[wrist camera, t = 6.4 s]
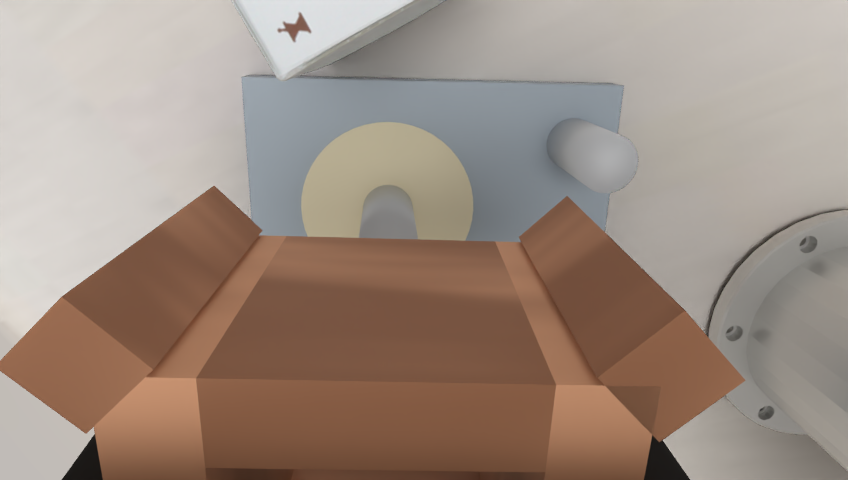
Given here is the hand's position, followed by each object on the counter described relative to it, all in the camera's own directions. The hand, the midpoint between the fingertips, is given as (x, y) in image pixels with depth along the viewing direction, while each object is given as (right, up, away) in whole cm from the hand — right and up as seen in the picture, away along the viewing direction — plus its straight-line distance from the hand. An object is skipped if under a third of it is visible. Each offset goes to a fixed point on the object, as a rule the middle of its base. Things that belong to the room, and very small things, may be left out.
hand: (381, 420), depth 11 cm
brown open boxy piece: (0, 0, +1) cm, 1 cm away
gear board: (+1, +1, +18) cm, 18 cm away
